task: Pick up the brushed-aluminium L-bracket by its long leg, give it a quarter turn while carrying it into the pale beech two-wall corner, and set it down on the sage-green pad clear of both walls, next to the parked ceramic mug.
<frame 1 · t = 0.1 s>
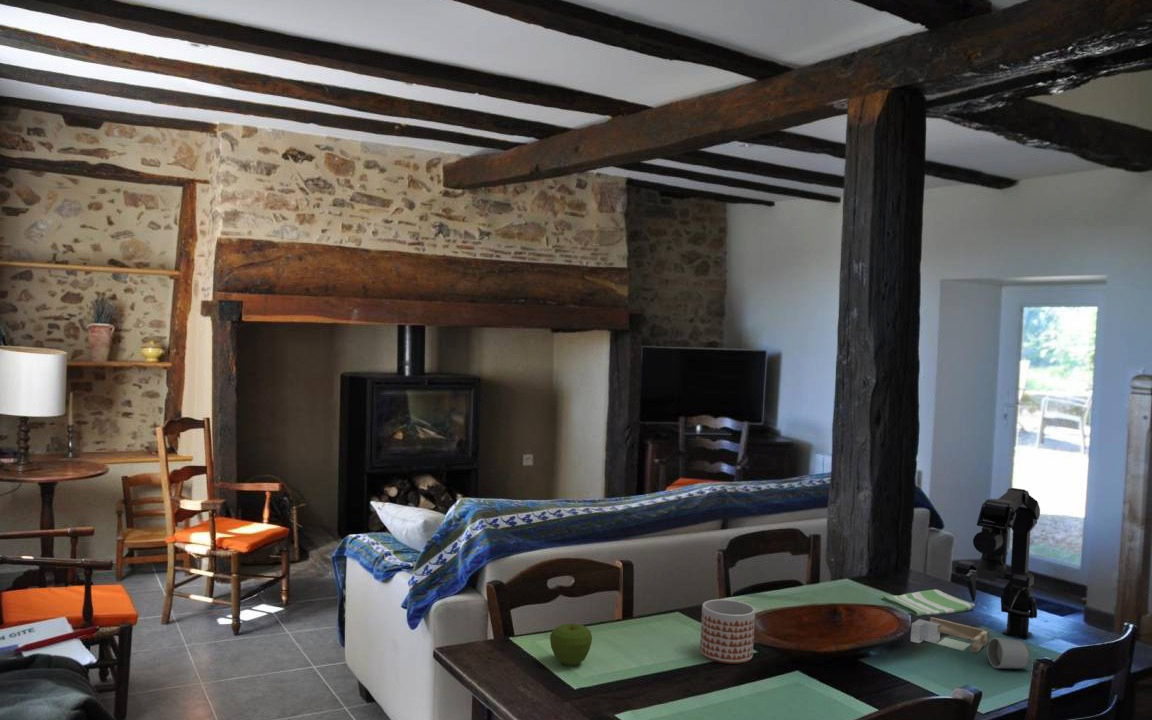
hand: (991, 605, 244), 15 cm above the table, fingers open, 9 cm apart
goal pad: (954, 644, 255), on the table
dish towel: (927, 607, 292), on the table
bracket: (916, 641, 256), on the table
corner arena: (952, 640, 259), on the table
apple: (569, 663, 227), on the table
ceramic mug: (1003, 666, 241), on the table
planter: (726, 655, 239), on the table
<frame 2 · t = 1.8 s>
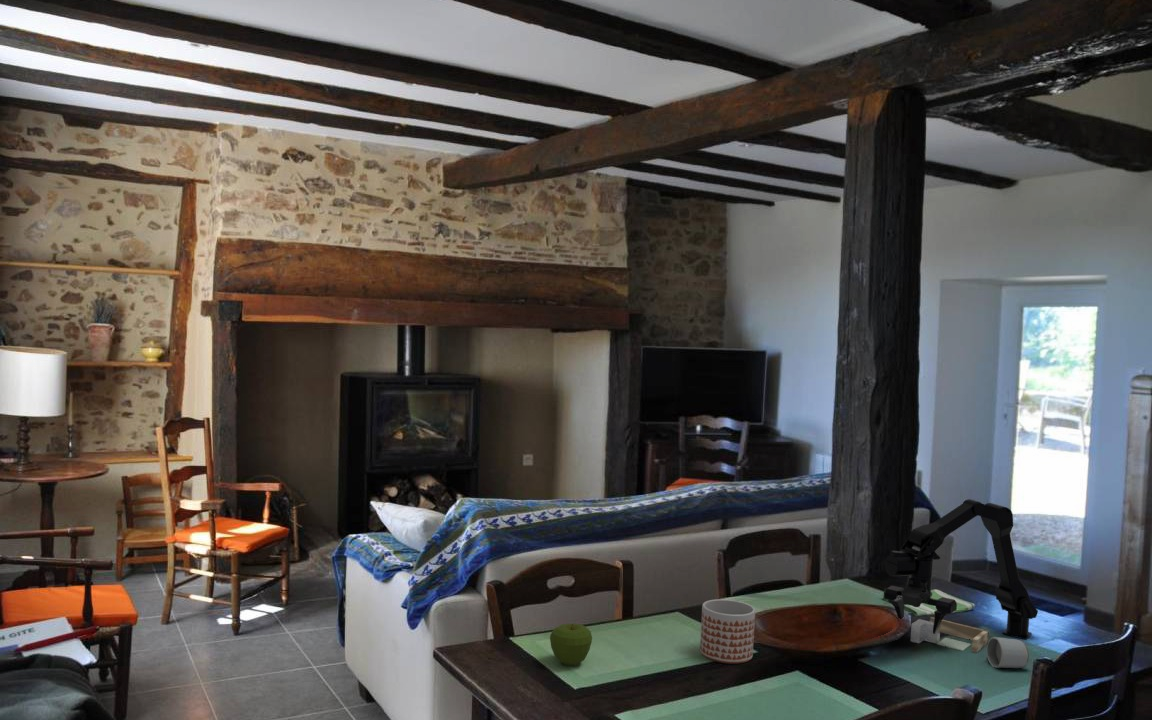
hand: (917, 629, 256), 3 cm above the table, fingers open, 9 cm apart
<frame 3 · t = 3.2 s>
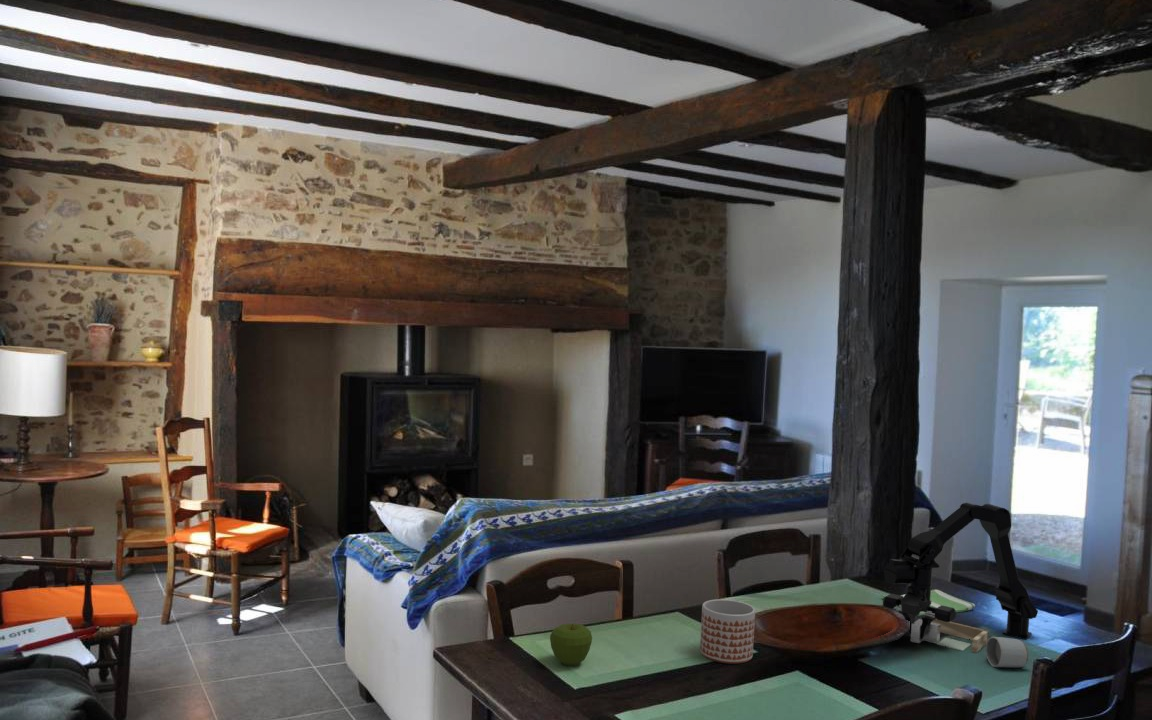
hand: (916, 637, 256), 1 cm above the table, fingers closed on bracket, 2 cm apart
bracket: (916, 641, 256), on the table, touching gripper
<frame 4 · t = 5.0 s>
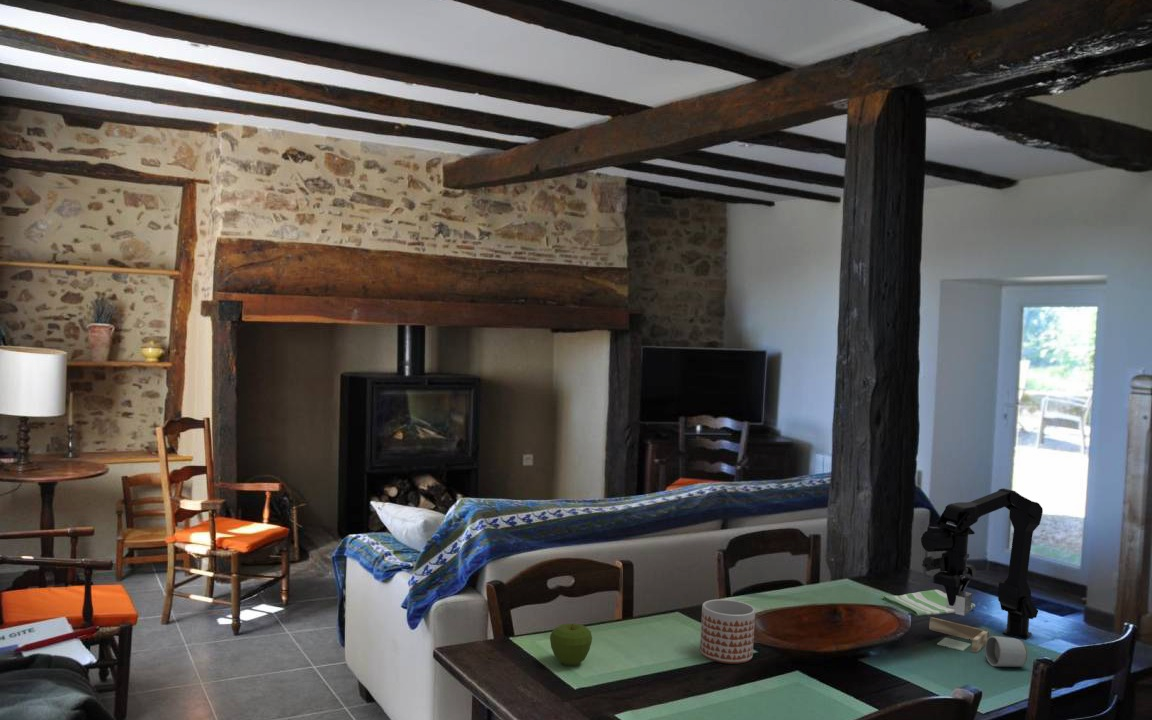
hand: (952, 604, 257), 11 cm above the table, fingers closed on bracket, 2 cm apart
bracket: (952, 608, 257), point 10 cm above the table, touching gripper
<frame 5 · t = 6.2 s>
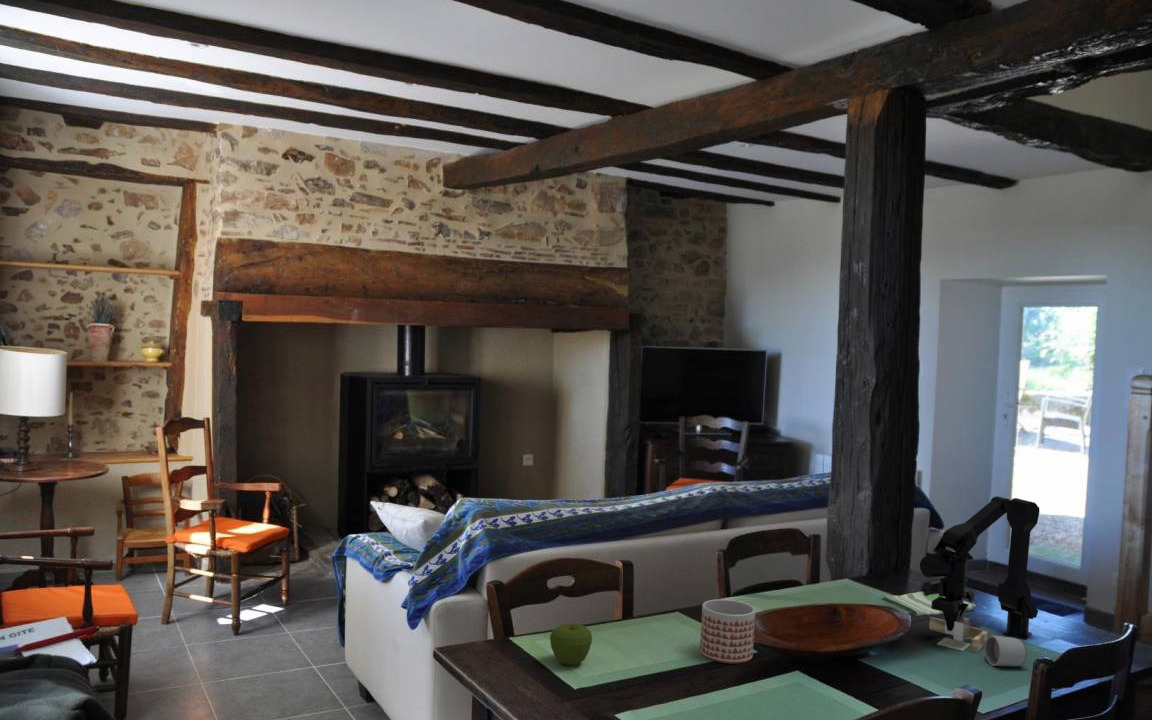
hand: (951, 629, 257), 3 cm above the table, fingers closed on bracket, 2 cm apart
bracket: (950, 633, 257), point 2 cm above the table, touching gripper
when the fingers open (3 cm above the table, at t = 6.9 s): bracket drops 1 cm, resting on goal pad.
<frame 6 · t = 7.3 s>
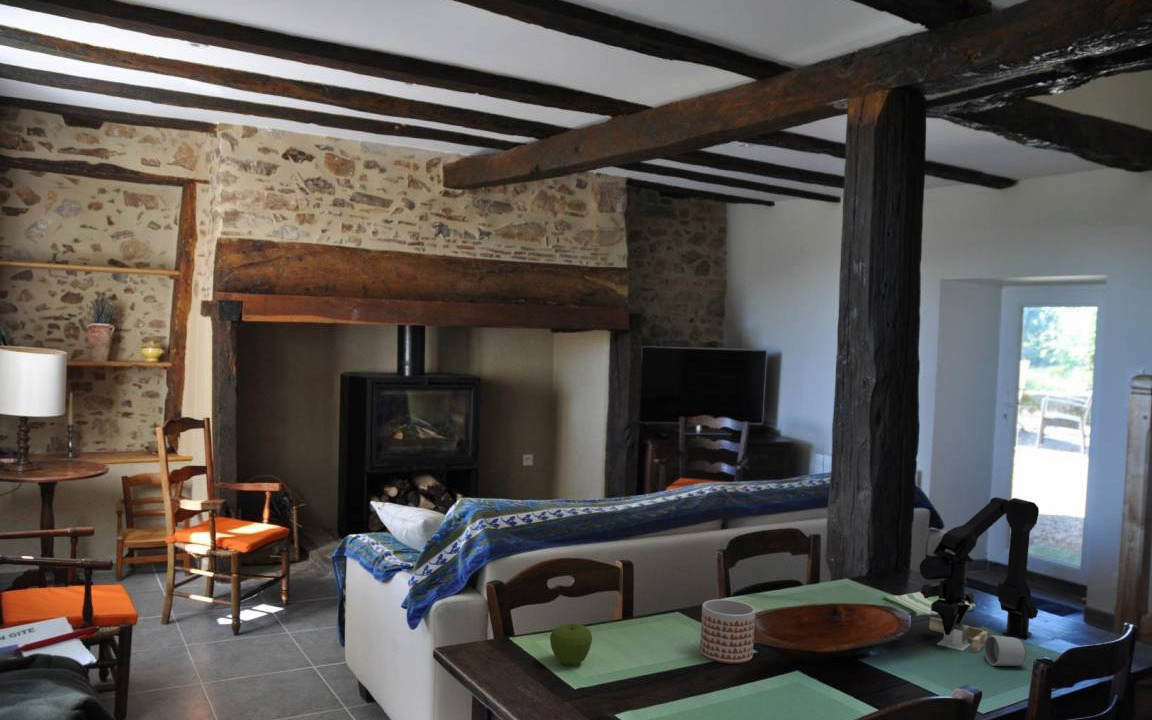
hand: (951, 631, 257), 3 cm above the table, fingers open, 6 cm apart
bracket: (949, 640, 258), resting on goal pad
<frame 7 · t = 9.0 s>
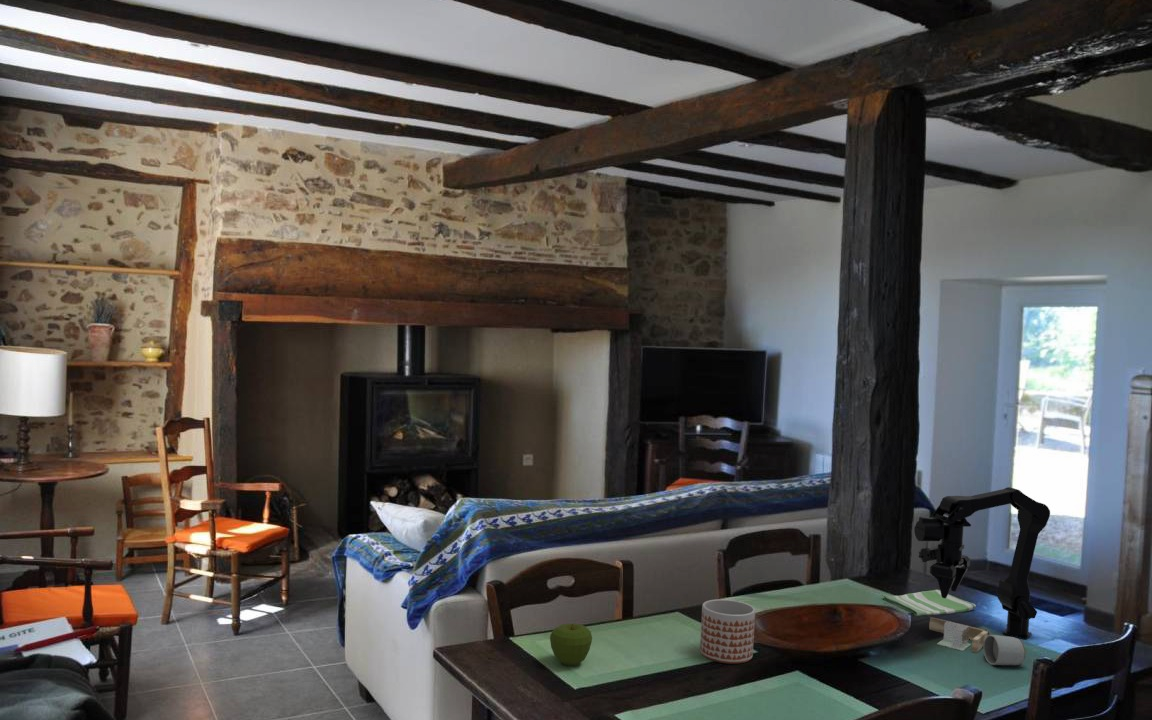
hand: (948, 594, 263), 12 cm above the table, fingers open, 9 cm apart
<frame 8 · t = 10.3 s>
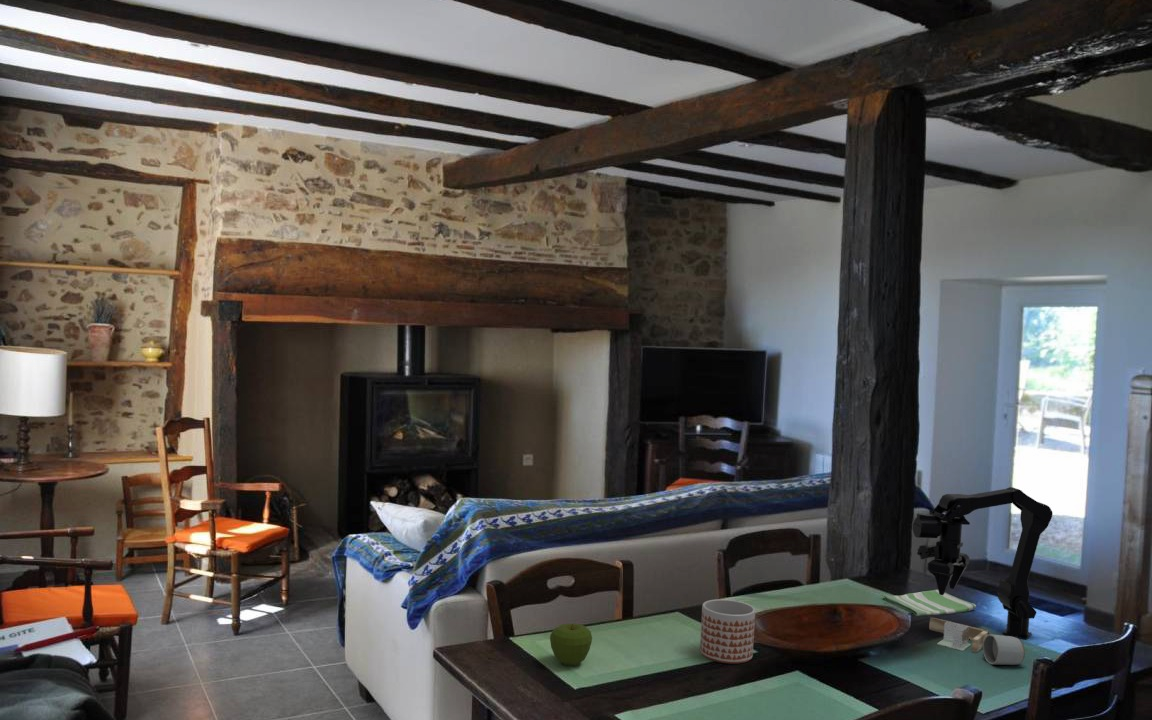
hand: (946, 591, 265), 12 cm above the table, fingers open, 9 cm apart
at the end: bracket 0.2 cm from the target spot, resting on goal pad; bracket tilted 0°; bracket touching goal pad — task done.
